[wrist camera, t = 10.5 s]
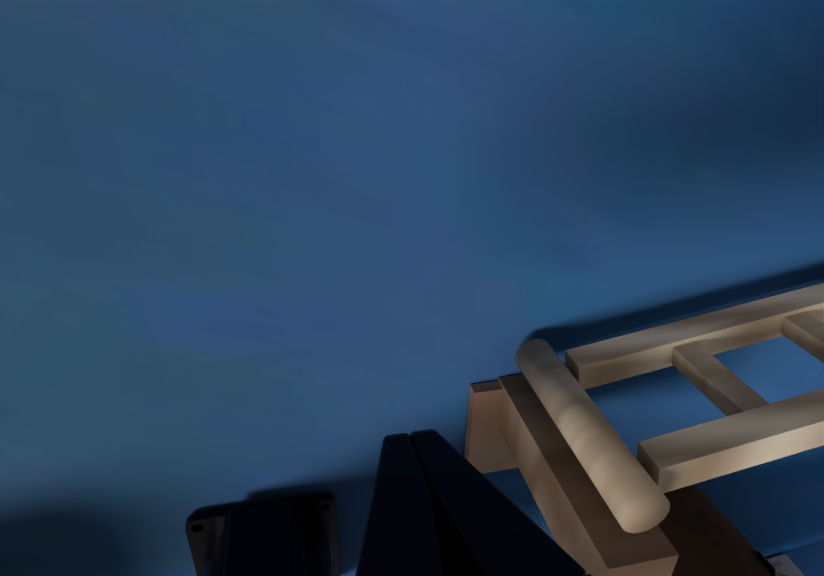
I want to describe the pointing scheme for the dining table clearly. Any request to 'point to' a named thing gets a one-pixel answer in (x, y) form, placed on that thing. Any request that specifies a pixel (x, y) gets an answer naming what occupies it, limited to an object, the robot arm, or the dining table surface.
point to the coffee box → (784, 566)
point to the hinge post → (557, 481)
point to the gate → (692, 355)
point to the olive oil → (708, 539)
